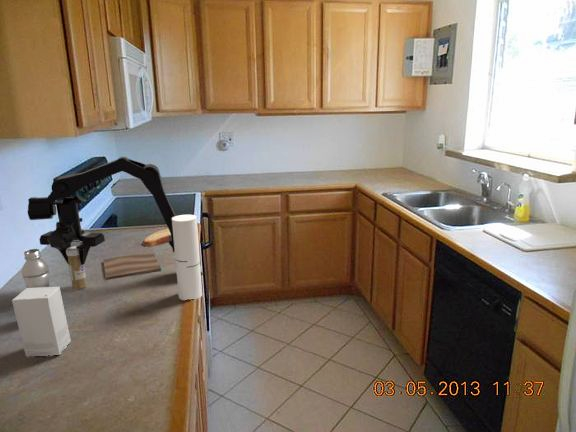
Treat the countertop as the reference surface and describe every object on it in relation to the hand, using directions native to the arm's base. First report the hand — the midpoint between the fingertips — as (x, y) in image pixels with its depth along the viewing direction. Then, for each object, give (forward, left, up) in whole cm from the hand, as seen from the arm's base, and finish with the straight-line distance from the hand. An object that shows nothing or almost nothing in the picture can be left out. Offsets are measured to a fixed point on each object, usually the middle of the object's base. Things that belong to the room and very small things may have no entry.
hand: (76, 264), depth 135 cm
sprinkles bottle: (0, 0, -8) cm, 8 cm away
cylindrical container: (-22, -31, -8) cm, 39 cm away
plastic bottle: (-18, +9, -8) cm, 22 cm away
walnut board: (+11, -17, -8) cm, 22 cm away
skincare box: (-36, +7, -8) cm, 38 cm away
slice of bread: (+37, -34, -9) cm, 51 cm away
